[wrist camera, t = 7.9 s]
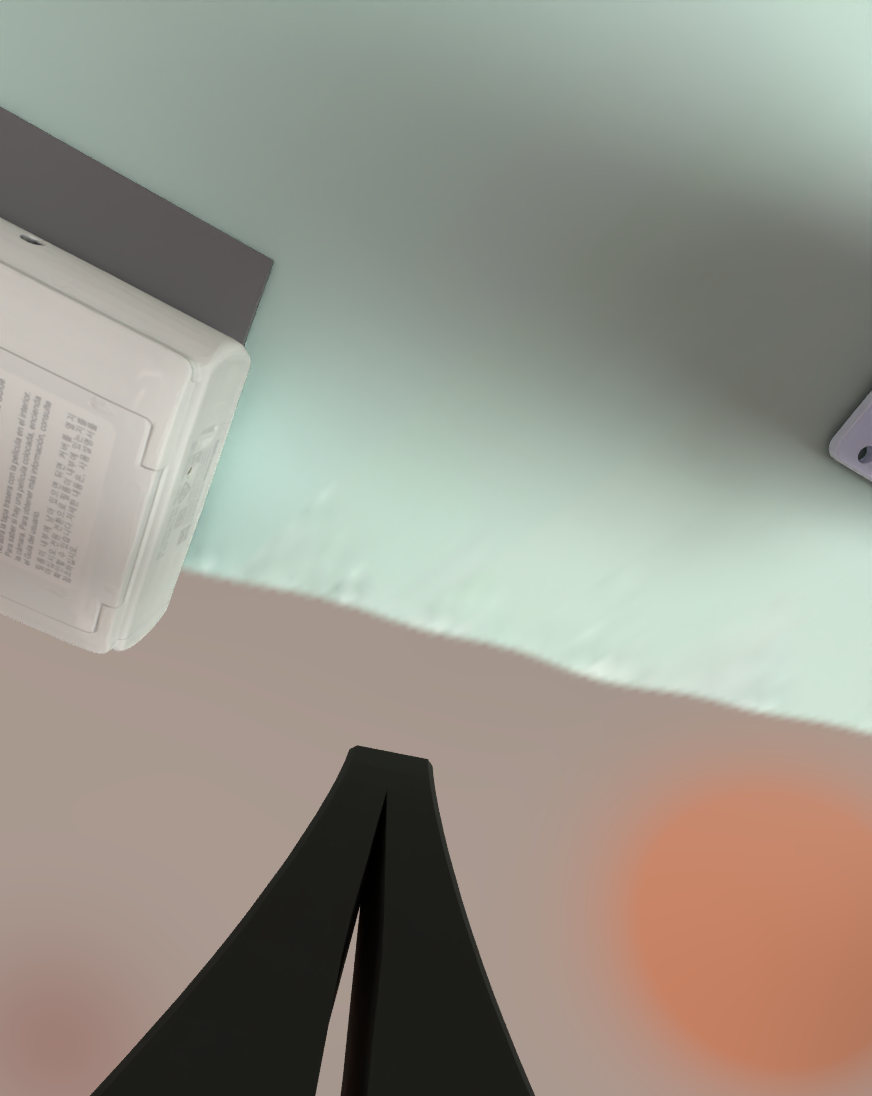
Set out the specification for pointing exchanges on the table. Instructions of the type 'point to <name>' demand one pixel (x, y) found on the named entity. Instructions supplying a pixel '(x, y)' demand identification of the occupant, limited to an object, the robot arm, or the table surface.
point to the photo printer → (101, 443)
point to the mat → (127, 230)
